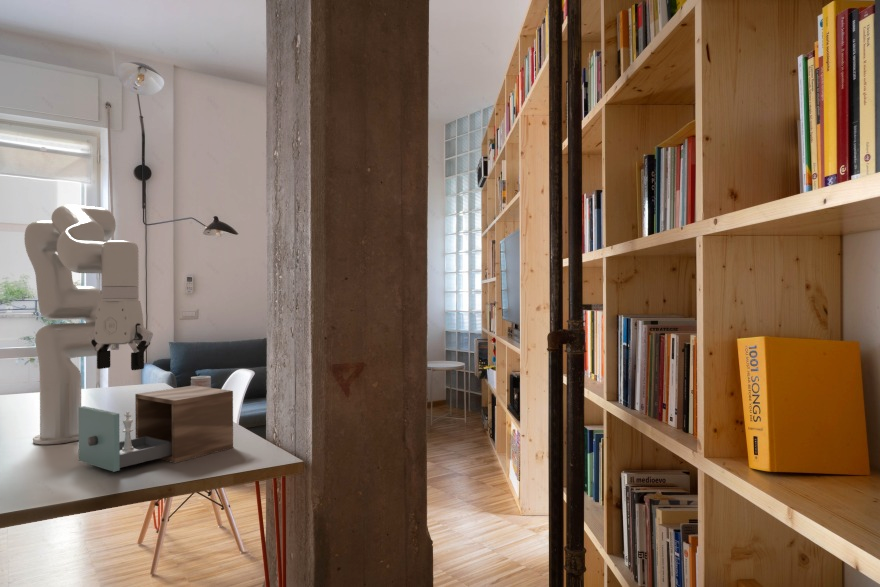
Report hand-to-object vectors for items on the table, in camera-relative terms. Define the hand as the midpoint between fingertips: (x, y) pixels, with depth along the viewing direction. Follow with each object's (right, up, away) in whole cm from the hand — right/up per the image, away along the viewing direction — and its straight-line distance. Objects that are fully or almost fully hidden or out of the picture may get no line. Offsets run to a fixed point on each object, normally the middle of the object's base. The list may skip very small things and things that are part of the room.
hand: (120, 368), depth 133 cm
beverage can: (+2, -23, +39) cm, 45 cm away
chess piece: (+1, -20, +2) cm, 20 cm away
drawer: (+1, -21, +1) cm, 21 cm away
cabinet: (+9, -22, +13) cm, 28 cm away
